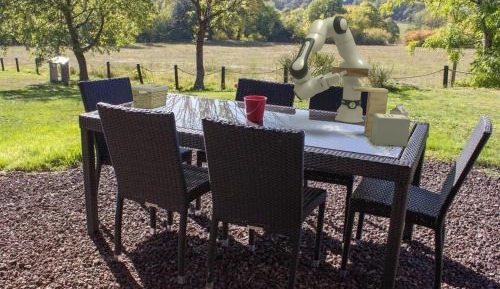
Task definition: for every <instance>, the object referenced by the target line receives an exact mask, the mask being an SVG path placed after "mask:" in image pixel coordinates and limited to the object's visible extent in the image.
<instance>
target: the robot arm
mask: <svg viewBox="0 0 500 289" xmlns="http://www.w3.org/2000/svg"><path fill="white" fill-rule="evenodd" d="M327 38H328V39H329V38H333V41H334V43H335V46H336V49H337V51H338V54H339V57H341V58H342V59H343V60H341V61H340V63H339V65H338V67H350V68H368V69H369V72H368V76H369V75H370V73H371V71H372V67H371V65H370V64H369V62H367V60H366V59H364V57H363V56H362V54H361V53H360V51H359V48H358V47H357V45H356V42H355V39H354V36H353V34H352V32H351V30H350V28H349V23H348V20H347V18H345V16H343V15H337V16H330V17H327V18H324V19H320V18H319V19H315V20H314V21H313V22H312V23H311V25H310V27H309V28H308V31H307V33H306V36H305V39H304V40H303V43H302V44H301V46H300V49H299V50H298V53H297V54H296V57H295V59H294V60H293V61H292V63H291V64H290V65H289V70H288V71H289V73H290V75H291V76H292V78H293V80H294V86H293V87H294V88H293V90H292V91H293V93H294V95H295V96H296V98H297V99H298V100H299V101H305V100H307V99H311V98H312V97H314V96H315V95H317V94H320V93H322V92H324V91H328V90H329V89H330V87H332V86H334V85H336V84H337V83H339V82H340V81H342V84H343V90H342V99H341V103H340V105H339V107H338V109H336V113H337V115H336V116H335V118H334V121H337V122H338V121H339V122H342V123H343V122H344V123H351V124H354V123H365V119H363V108H362V107H361V106H362V105H361V104H362V99H361V96H362V91H354V90H353V89H352V87H362V86H361V84H360V82H359V79H364V78H366V77H350V76H343V75H344V74H346V73H347V71H346V70H344V71H342V72H340V73H334V74H332V71H329V72H328V73H326V74H322V73H321V74H319V75H316V76H315V77H313V76H312V73H311V70H310V69H309V65H308V60H309V59H310V55H311V54H312V53H317V52H319V51H321V50H322V49H323V48H324V44H325V43H326V40H327Z"/></svg>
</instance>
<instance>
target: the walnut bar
mask: <svg viewBox="0 0 500 289" xmlns="http://www.w3.org/2000/svg"><path fill="white" fill-rule="evenodd" d="M331 68H332V69H331V72H332V74H334V73H340V72H342V71H344V70H346V71H347V73H346V74H344V75H343V76H350V77H365V78H369V75H368V72H369V69H368V68H350V67H339V66H331Z"/></svg>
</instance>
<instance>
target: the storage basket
mask: <svg viewBox="0 0 500 289" xmlns="http://www.w3.org/2000/svg"><path fill="white" fill-rule="evenodd" d="M168 90H169V85H168V84H164V83H162V84H161V83H143V84H137V85H133V86H131V93H132V101H133V107H134V108H139V109H149V110H150V109H151V110H152V109H155V108H160V107H162V106H165V105H167V100H168V98H167V96H168V92H169V91H168Z"/></svg>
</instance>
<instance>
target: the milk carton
mask: <svg viewBox="0 0 500 289" xmlns="http://www.w3.org/2000/svg"><path fill="white" fill-rule="evenodd" d="M389 114H396V115H404V116H406V117H407V118H409V117H408V116H409V110H408V109H407V107H405V106H404V103H397V104H396V106H394V107H393V108H392V109H390V110H389Z"/></svg>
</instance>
